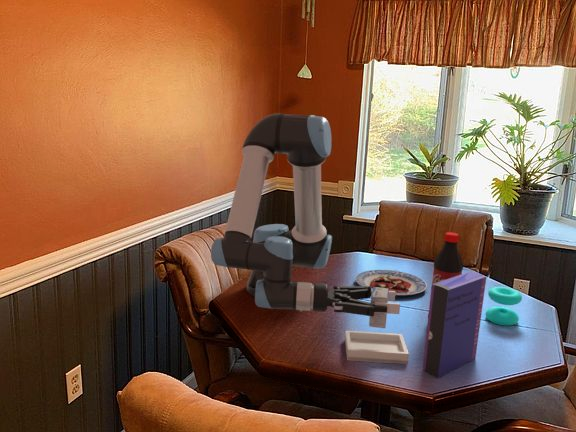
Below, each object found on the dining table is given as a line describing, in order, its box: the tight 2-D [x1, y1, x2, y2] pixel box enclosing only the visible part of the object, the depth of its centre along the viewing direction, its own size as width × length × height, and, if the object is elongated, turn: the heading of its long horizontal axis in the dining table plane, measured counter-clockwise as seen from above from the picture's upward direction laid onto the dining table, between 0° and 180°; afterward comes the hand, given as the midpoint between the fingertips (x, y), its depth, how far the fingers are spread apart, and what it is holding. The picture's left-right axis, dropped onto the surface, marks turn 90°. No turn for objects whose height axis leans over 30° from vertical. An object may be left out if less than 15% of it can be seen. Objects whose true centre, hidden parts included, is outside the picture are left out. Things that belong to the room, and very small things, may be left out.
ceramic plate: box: [355, 269, 428, 296], centre depth 206 cm, size 26×26×3 cm
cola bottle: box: [427, 232, 464, 316], centre depth 169 cm, size 8×8×30 cm
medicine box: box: [368, 287, 389, 329], centre depth 151 cm, size 8×4×9 cm, turn 168°
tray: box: [344, 330, 410, 365], centre depth 154 cm, size 12×16×3 cm
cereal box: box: [421, 271, 487, 379], centre depth 147 cm, size 17×5×24 cm, turn 131°
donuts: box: [485, 286, 523, 326], centre depth 179 cm, size 10×10×10 cm
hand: (397, 302), depth 151 cm, fingers closed on medicine box, 8 cm apart
